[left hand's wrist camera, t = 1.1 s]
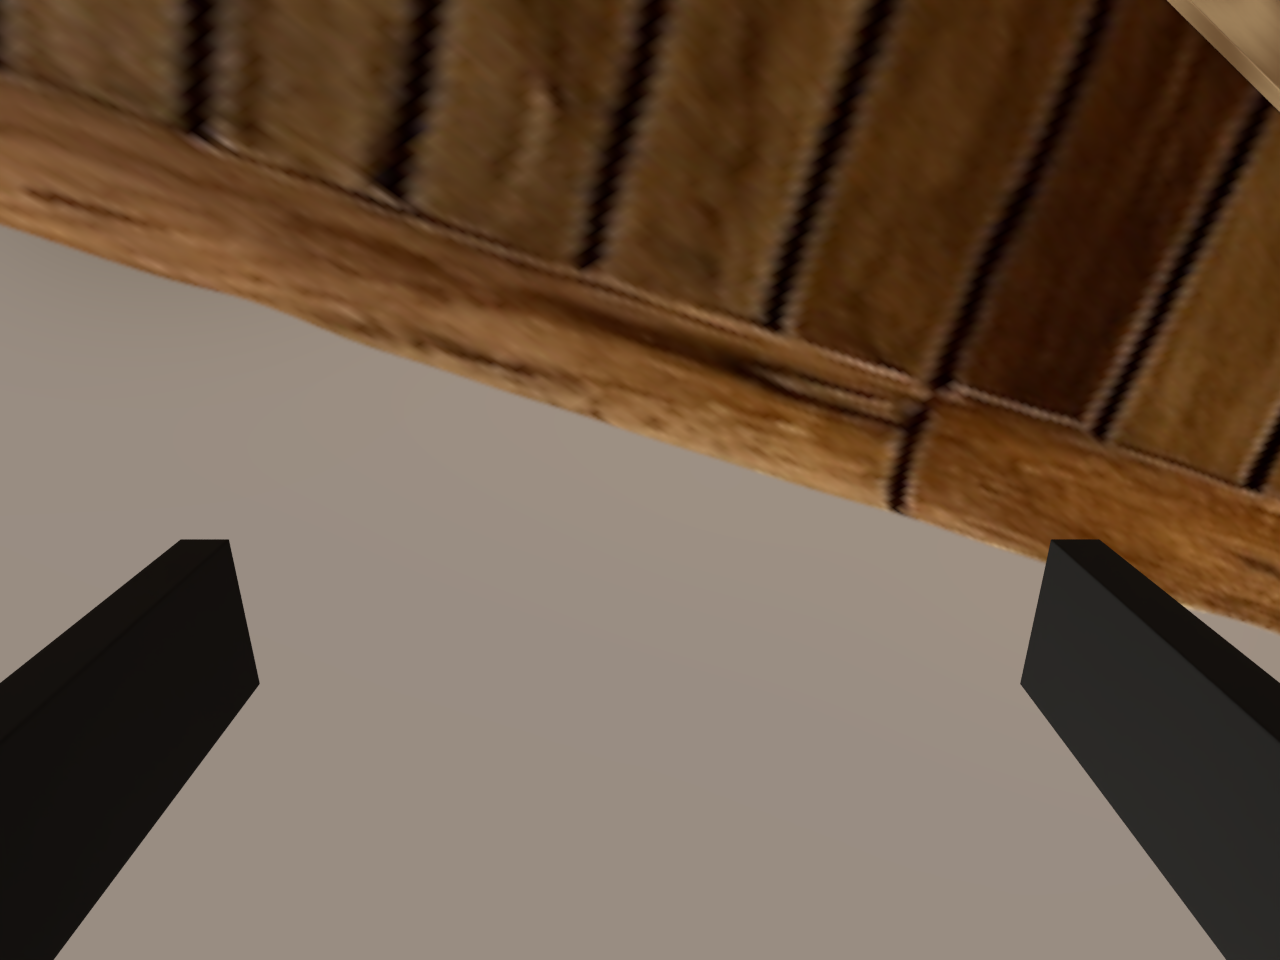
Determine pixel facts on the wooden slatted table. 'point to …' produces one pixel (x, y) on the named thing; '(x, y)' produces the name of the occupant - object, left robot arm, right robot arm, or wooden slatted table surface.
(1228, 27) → the cabinet
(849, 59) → the wooden slatted table surface
